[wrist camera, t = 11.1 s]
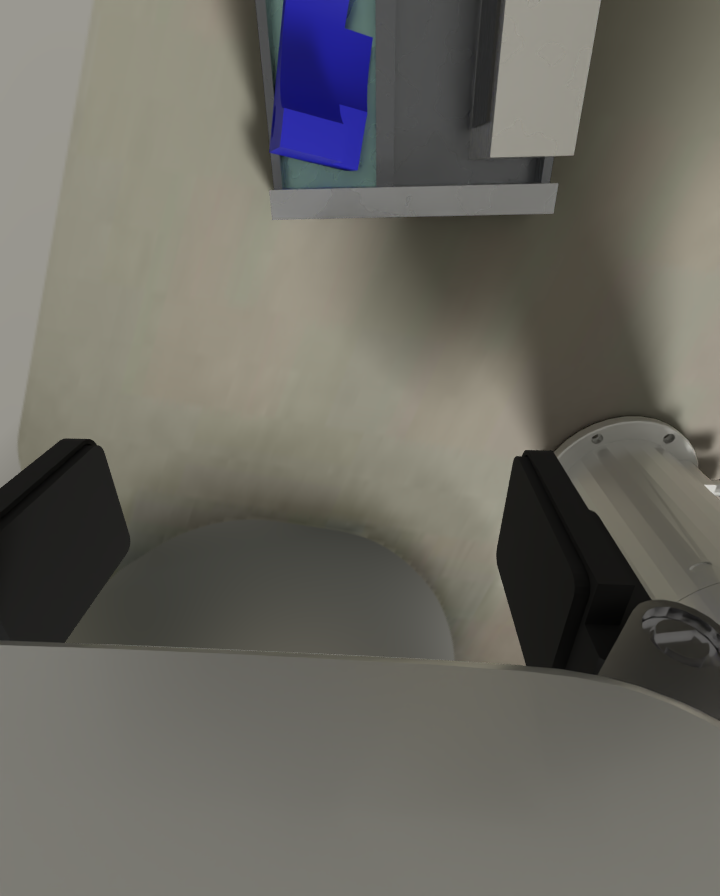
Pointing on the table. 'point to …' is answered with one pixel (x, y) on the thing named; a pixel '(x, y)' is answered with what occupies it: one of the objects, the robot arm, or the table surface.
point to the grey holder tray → (448, 109)
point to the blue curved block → (320, 85)
